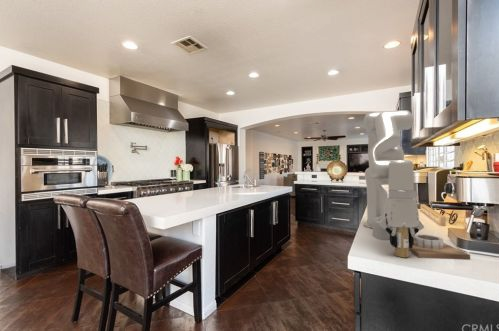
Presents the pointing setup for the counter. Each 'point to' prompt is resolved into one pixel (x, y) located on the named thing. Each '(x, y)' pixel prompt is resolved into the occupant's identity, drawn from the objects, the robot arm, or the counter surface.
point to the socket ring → (428, 241)
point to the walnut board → (439, 252)
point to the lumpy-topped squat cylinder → (379, 229)
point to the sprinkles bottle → (402, 242)
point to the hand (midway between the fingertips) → (401, 246)
